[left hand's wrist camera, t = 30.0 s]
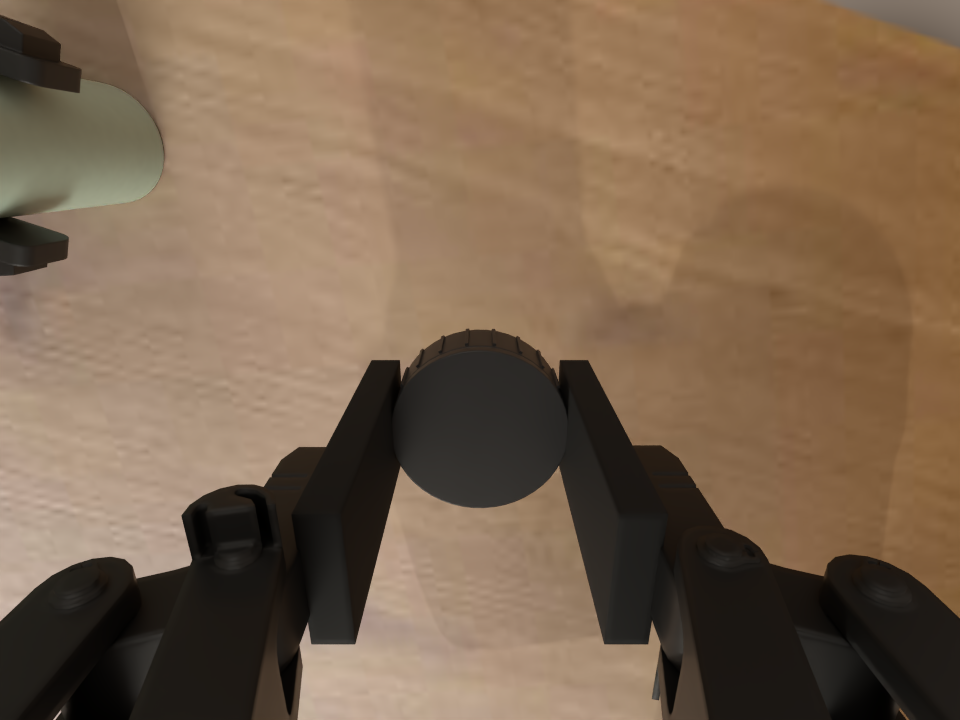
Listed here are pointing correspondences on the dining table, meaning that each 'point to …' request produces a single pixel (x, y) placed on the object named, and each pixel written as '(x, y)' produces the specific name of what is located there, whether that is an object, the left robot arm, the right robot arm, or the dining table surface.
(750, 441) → the dining table surface
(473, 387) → the cap
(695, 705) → the left robot arm
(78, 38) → the dining table surface
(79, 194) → the bottle
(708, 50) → the dining table surface
